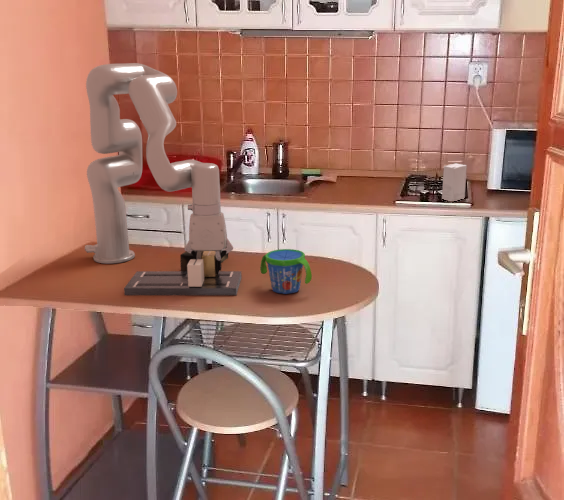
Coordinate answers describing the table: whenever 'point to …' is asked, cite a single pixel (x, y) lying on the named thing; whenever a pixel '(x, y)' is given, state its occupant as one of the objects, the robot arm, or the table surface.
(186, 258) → the beverage carton
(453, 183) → the skincare box
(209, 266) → the block
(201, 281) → the block
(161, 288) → the dark grey flat board
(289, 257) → the snack cup
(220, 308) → the table surface
